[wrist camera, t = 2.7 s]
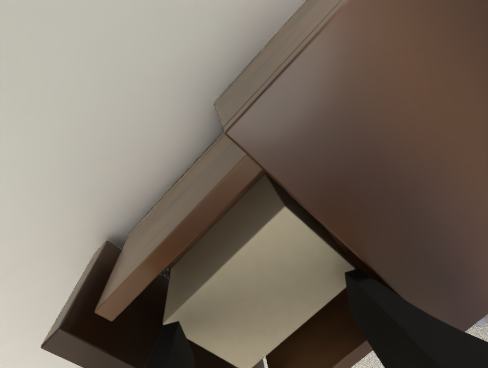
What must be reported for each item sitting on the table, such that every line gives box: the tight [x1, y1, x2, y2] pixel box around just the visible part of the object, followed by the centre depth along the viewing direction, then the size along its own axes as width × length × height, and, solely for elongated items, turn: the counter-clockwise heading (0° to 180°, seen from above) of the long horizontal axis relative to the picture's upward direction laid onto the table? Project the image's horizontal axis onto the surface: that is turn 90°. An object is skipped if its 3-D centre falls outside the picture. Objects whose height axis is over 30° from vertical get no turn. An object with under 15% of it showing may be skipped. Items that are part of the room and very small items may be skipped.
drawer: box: [41, 132, 402, 368], centre depth 15 cm, size 18×12×6 cm, turn 136°
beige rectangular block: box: [163, 174, 357, 368], centre depth 15 cm, size 5×8×4 cm
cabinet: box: [214, 0, 488, 332], centre depth 13 cm, size 14×13×8 cm
